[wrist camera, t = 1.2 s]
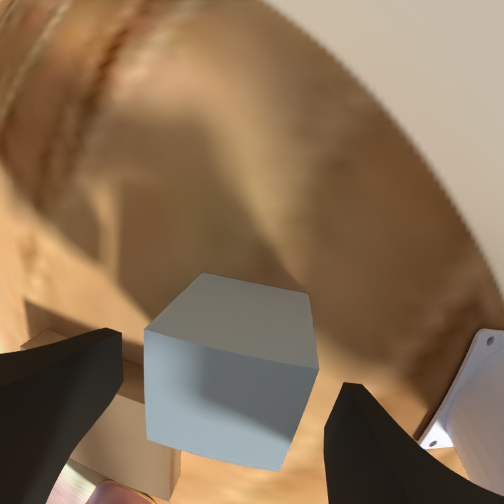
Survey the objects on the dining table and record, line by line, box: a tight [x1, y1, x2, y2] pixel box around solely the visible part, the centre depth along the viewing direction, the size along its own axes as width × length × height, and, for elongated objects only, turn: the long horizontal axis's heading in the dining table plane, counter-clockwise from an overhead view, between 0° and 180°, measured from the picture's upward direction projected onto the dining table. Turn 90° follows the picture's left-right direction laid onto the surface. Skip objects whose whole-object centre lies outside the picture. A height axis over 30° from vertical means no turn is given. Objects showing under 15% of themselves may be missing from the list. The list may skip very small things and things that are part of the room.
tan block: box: [20, 329, 181, 501], centre depth 14 cm, size 9×9×3 cm
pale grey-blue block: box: [144, 272, 319, 472], centre depth 10 cm, size 4×4×6 cm
